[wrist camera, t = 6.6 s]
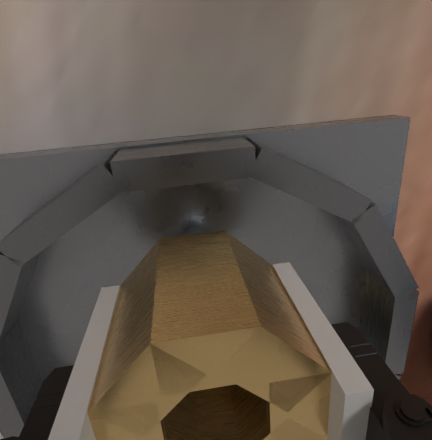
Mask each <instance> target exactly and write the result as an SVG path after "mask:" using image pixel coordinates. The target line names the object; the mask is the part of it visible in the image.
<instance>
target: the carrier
mask: <svg viewBox="0 0 432 440" xmlns="http://www.w3.org/2000/svg"><path fill="white" fill-rule="evenodd" d="M409 123H410V117H404V116H397V115H389V116H379V117H369V118H359V119H349V120H339V121H329V122H319V123H309V124H299V125H290V126H280V127H270V128H260V129H250V130H240V131H230V132H220V133H210V134H200V135H191V136H181V137H171V138H161V139H151V140H141V141H131V142H121V143H111V144H101V145H92V146H82V147H72V148H62V149H52V150H42V151H32V152H22V153H12V154H2V155H0V432H1V434H2V436H3V438H8V437H11V436H15V437H19V436H20V433H21V431H22V429H23V427H24V424H25V422H26V420H27V417H28V415H29V413H30V412H31V408H32V406H33V404H34V401H35V400H36V399H37V395H38V392H39V390H40V388H41V385H42V383H43V381H44V380H45V379H46V378H47V377H48V376H49V374H50V373H51V372H52V371H53V370H54V369H55V368H58V367H64V366H71V365H74V364H75V361H76V358H77V356H78V353H79V350H80V347H81V344H82V341H83V339H84V336H85V333H86V330H87V327H88V324H89V322H90V319H91V316H92V313H93V310H94V307H95V305H96V302H97V299H98V296H99V293H100V290H101V288H103V287H110V286H118V285H120V287H121V284H122V283H123V282H124V281H125V279H126V278H127V277H128V276H129V275H130V273H131V272H132V271H133V270H134V269H135V267H136V266H137V265H138V264H139V263H140V261H141V260H142V259H143V258H144V257H145V255H146V254H147V253H148V252H149V250H150V249H151V248H152V247H153V246H154V244H155V243H156V242H157V241H158V240H159V238H167V237H175V236H183V235H190V234H198V233H206V232H214V231H222V230H225V231H227V232H228V233H229V234H231V235H232V236H234V237H235V238H236V239H238V240H239V241H240V242H242V243H243V244H244V245H246V246H247V247H248V248H250V249H251V250H252V251H254V252H255V253H256V254H258V255H259V256H261V257H262V258H263V259H265V260H266V261H267V262H269V263H270V264H271V265H272V264H279V263H287V262H290V264H291V265H292V267H293V268H294V270H295V271H296V273H297V274H298V276H299V277H300V279H301V280H302V282H303V283H304V285H305V286H306V288H307V289H308V291H309V292H310V294H311V295H312V297H313V298H314V300H315V301H316V303H317V304H318V306H319V307H320V309H321V311H322V312H323V314H324V315H325V317H326V318H327V320H328V321H329V323H330V324H338V323H344V322H349V323H350V324H351V325H353V326H354V327H356V328H357V329H359V330H360V331H361V332H362V333H363V334H364V336H365V337H366V338H367V340H368V341H369V342H370V345H372V346H373V347H374V349H375V350H376V351H377V354H379V355H380V357H381V358H382V359H383V360H384V362H385V363H386V364H387V366H388V367H389V368H390V370H391V371H392V372H393V373H394V375H395V376H396V377H397V379H398V380H399V379H400V378H401V376H400V374H401V373H404V368H405V363H406V358H407V352H408V347H409V342H410V337H411V331H412V326H413V321H414V316H415V311H416V305H417V300H418V295H419V292H418V291H417V290H416V289H417V288H418V286H417V284H416V282H415V280H414V278H413V276H412V274H411V272H410V270H409V268H408V266H407V264H406V262H405V260H404V258H403V256H402V254H401V252H400V250H399V248H398V246H397V244H396V242H395V240H394V238H393V235H394V228H395V221H396V214H397V207H398V200H399V193H400V186H401V179H402V172H403V165H404V158H405V151H406V144H407V137H408V130H409ZM327 440H328V439H327Z"/></svg>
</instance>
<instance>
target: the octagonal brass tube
mask: <svg viewBox="0 0 432 440" xmlns="http://www.w3.org/2000/svg"><path fill="white" fill-rule="evenodd" d="M330 387H331V370H330V369H329V367H328V365H327V363H326V361H325V360H324V358H323V356H322V354H321V353H320V351H319V349H318V347H317V345H316V344H315V342H314V340H313V338H312V337H311V335H310V333H309V331H308V329H307V328H306V326H305V324H304V322H303V321H302V319H301V317H300V315H299V313H298V312H297V310H296V308H295V306H294V305H293V303H292V301H291V299H290V297H289V296H288V294H287V292H286V290H285V288H284V287H283V285H282V283H281V281H280V280H279V278H278V276H277V274H276V272H275V271H274V269H273V267H272V265H271V264H270V263H269V262H267V261H266V260H265V259H263V258H262V257H261V256H259V255H258V254H256V253H255V252H254V251H252V250H251V249H250V248H248V247H247V246H246V245H244V244H243V243H242V242H240V241H239V240H238V239H236V238H235V237H234V236H232V235H231V234H229V233H228V232H227V231H225V230H222V231H214V232H206V233H198V234H190V235H183V236H175V237H167V238H159V240H158V241H157V242H156V243H155V244H154V246H153V247H152V248H151V249H150V250H149V252H148V253H147V254H146V255H145V257H144V258H143V259H142V260H141V261H140V263H139V264H138V265H137V266H136V267H135V269H134V270H133V271H132V272H131V273H130V275H129V276H128V277H127V278H126V279H125V281H124V282H123V283H122V284H121V287H120V291H119V295H118V299H117V303H116V307H115V310H114V314H113V318H112V322H111V326H110V330H109V333H108V337H107V341H106V345H105V349H104V352H103V356H102V360H101V364H100V368H99V371H98V375H97V379H96V383H95V387H94V390H93V394H92V398H91V402H90V406H89V410H88V417H89V420H90V423H91V426H92V429H93V432H94V435H95V438H96V440H327V439H328V438H327V432H328V417H329V402H330Z"/></svg>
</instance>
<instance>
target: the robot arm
mask: <svg viewBox="0 0 432 440" xmlns="http://www.w3.org/2000/svg"><path fill="white" fill-rule="evenodd" d="M272 267H273V269H274V271H275V272H276V274H277V276H278V278H279V280H280V281H281V283H282V285H283V287H284V288H285V290H286V292H287V294H288V296H289V297H290V299H291V301H292V303H293V305H294V306H295V308H296V310H297V312H298V313H299V315H300V317H301V319H302V321H303V322H304V324H305V326H306V328H307V329H308V331H309V333H310V335H311V337H312V338H313V340H314V342H315V344H316V345H317V347H318V349H319V351H320V353H321V354H322V356H323V358H324V360H325V361H326V363H327V365H328V367H329V369H330V370H331V387H330V402H329V417H328V432H327V438H328V440H432V406H431V405H430V404H429V403H427V402H426V401H425V400H423V399H421V398H419V397H417V396H415V395H412V394H410V393H409V392H408V391H407V390H406V389H405V388H404V386H403V385H402V384H401V383H400V381H399V380H398V379H397V377H396V376H395V375H394V373H393V372H392V371H391V370H390V368H389V367H388V366H387V364H386V363H385V362H384V360H383V359H382V358H381V357H380V355H379V354H377V351H376V350H375V349H374V347H373V346H372V345H370V342H369V341H368V340H367V338H366V337H365V336H364V334H363V333H362V332H361V331H360V330H359V329H357V328H356V327H354V326H353V325H351V324H350V323H349V322H344V323H338V324H330V323H329V321H328V320H327V318H326V317H325V315H324V314H323V312H322V311H321V309H320V307H319V306H318V304H317V303H316V301H315V300H314V298H313V297H312V295H311V294H310V292H309V291H308V289H307V288H306V286H305V285H304V283H303V282H302V280H301V279H300V277H299V276H298V274H297V273H296V271H295V270H294V268H293V267H292V265H291V264H290V262H287V263H279V264H272ZM119 291H120V285H118V286H110V287H103V288H101V290H100V293H99V296H98V299H97V302H96V305H95V307H94V310H93V313H92V316H91V319H90V322H89V324H88V327H87V330H86V333H85V336H84V339H83V341H82V344H81V347H80V350H79V353H78V356H77V358H76V361H75V364H74V365H71V366H64V367H58V368H55V369H54V370H53V371H52V372H51V373H50V374H49V376H48V377H47V378H46V379H45V380H44V381H43V383H42V385H41V388H40V390H39V392H38V395H37V399H36V400H35V401H34V404H33V406H32V408H31V412H30V413H29V415H28V417H27V420H26V422H25V424H24V427H23V429H22V431H21V433H20V436H19V437H15V436H11V437H8V438H4V439H1V440H96V438H95V435H94V432H93V429H92V426H91V423H90V420H89V417H88V410H89V406H90V402H91V398H92V394H93V390H94V387H95V383H96V379H97V375H98V371H99V368H100V364H101V360H102V356H103V352H104V349H105V345H106V341H107V337H108V333H109V330H110V326H111V322H112V318H113V314H114V310H115V307H116V303H117V299H118V295H119Z"/></svg>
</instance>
